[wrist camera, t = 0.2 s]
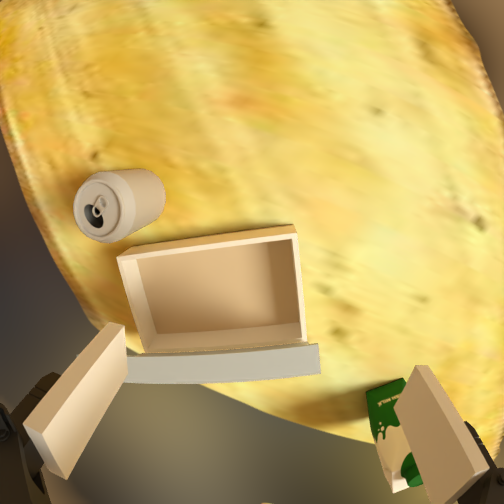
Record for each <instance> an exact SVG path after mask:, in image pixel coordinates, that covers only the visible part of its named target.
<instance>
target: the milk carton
mask: <svg viewBox="0 0 504 504" xmlns="http://www.w3.org/2000/svg"><path fill="white" fill-rule="evenodd" d="M405 385H406V382H405V380H404V379H403V378H401V379H399V380H396V381H394V382H391V383H389V384H386V385H384V386H381V387H378V388H376V389H373V390H370V391H367V392H366V396H367V404H368V412H369V420H370V427H371V431H372V435H373V438H374V442H375V445H376V448H377V451H378V454H379V458H380V461H381V464H382V467H383V472H384V475H385V477H386V479H387V481H388V482H389V484H390V486H391V489H392V492H393V493H395V492H398V491H400V490H403V489H405V488H408V487H415V486H419V485H422V484H424V483H423V481H422V478H421V475H420V472H419V470H418V467H417V465H416V462H415V459H414V457H413V454H412V452H411V449H410V447H409V444H408V442H407V439H406V437H405V434H404V432H403V429H402V427H401V424H400V422H399V420H398V417H397V415H396V413H395V410H394V408H393V407H394V406H395V404H396V402H397V400H398V399H399V397H400V395H401V393H402V391H403V389H404V387H405Z"/></svg>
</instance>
